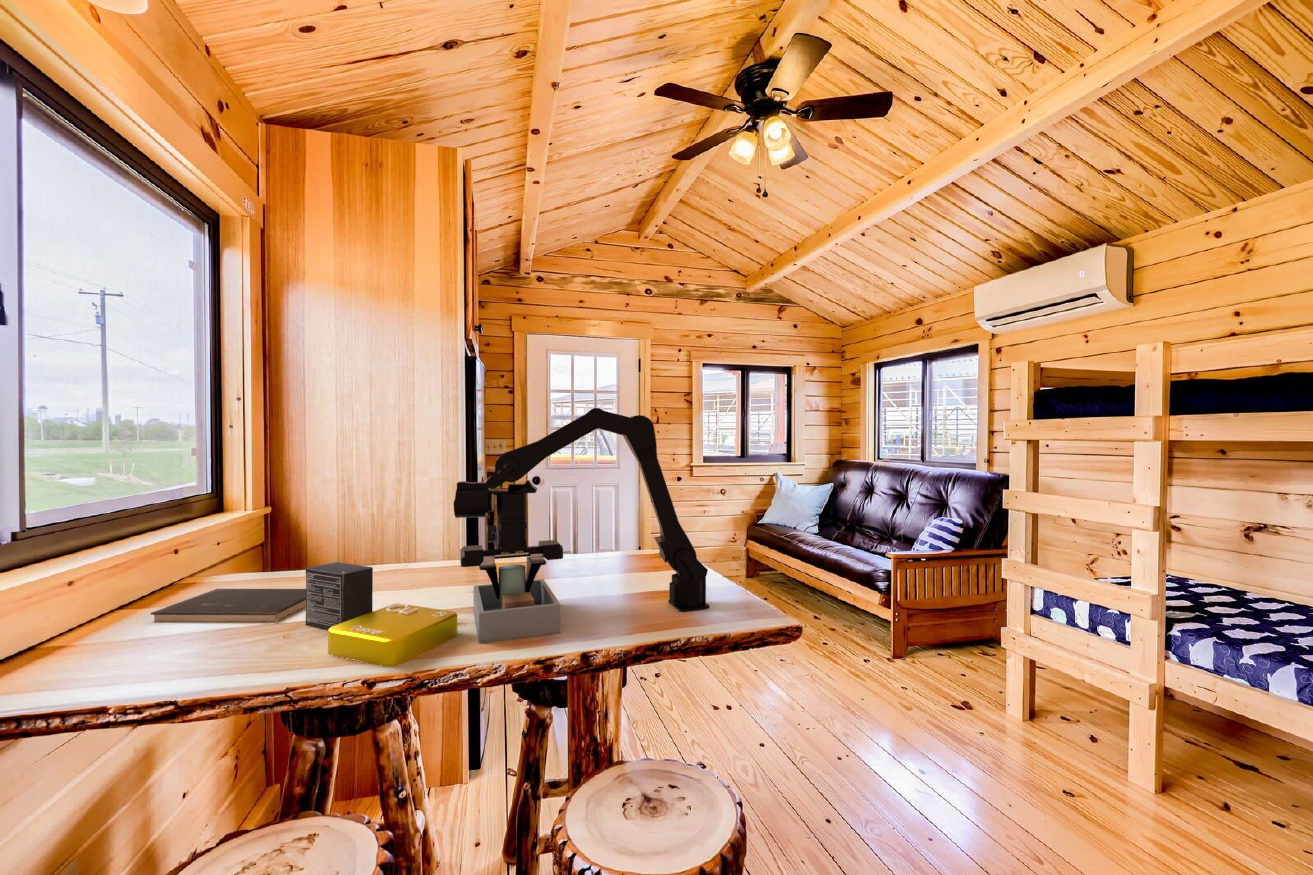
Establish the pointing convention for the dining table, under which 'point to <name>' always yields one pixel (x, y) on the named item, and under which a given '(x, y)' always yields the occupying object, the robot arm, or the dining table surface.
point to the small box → (337, 593)
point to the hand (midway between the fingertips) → (512, 597)
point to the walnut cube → (517, 600)
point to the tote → (515, 614)
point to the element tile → (392, 634)
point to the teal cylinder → (511, 580)
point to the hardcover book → (236, 605)
